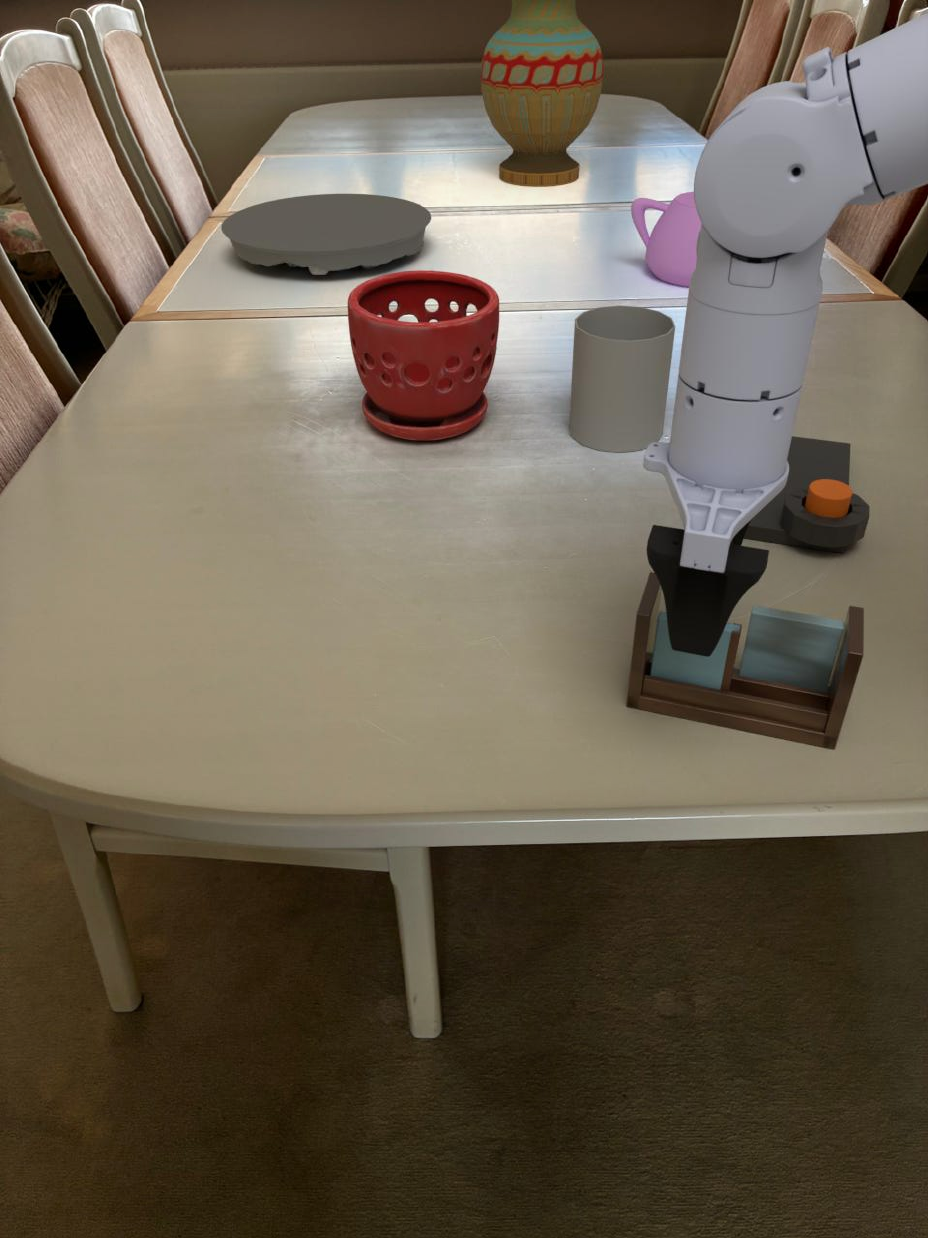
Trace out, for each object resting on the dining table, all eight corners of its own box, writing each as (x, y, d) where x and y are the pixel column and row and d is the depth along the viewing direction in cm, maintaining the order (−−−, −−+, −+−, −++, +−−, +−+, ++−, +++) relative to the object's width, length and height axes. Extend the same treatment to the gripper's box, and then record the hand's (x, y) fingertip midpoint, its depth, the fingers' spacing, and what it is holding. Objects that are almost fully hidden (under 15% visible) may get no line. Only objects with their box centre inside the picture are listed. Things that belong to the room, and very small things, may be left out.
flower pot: (331, 438, 87) (317, 307, 79) (398, 383, 96) (390, 261, 89) (463, 465, 82) (460, 328, 75) (519, 404, 92) (522, 278, 84)
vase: (619, 173, 165) (635, -37, 147) (549, 197, 153) (556, -29, 135) (529, 158, 176) (534, -40, 157) (457, 179, 164) (453, -33, 146)
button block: (728, 440, 85) (734, 409, 83) (861, 457, 82) (870, 425, 80) (702, 542, 72) (708, 507, 70) (859, 566, 69) (869, 531, 67)
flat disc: (423, 220, 143) (422, 189, 141) (442, 280, 121) (441, 244, 119) (234, 230, 141) (229, 198, 138) (218, 293, 119) (212, 256, 116)
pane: (728, 690, 57) (749, 588, 52) (727, 701, 56) (747, 599, 51) (651, 675, 58) (664, 574, 53) (648, 685, 57) (661, 584, 53)
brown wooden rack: (837, 700, 58) (864, 607, 54) (835, 750, 54) (863, 655, 50) (639, 662, 61) (650, 571, 57) (625, 706, 58) (636, 613, 53)
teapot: (787, 296, 114) (805, 202, 108) (619, 286, 118) (627, 194, 112) (786, 261, 125) (802, 173, 118) (632, 253, 129) (639, 167, 123)
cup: (667, 452, 83) (681, 340, 77) (573, 452, 84) (579, 341, 78) (654, 410, 90) (666, 304, 84) (566, 411, 90) (572, 305, 84)
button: (805, 496, 72) (810, 476, 71) (847, 502, 71) (853, 481, 70) (803, 516, 70) (808, 495, 69) (846, 523, 69) (852, 501, 68)
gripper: (678, 315, 52) (652, 530, 60) (626, 431, 41) (603, 674, 49) (814, 329, 50) (768, 548, 58) (798, 454, 39) (744, 703, 47)
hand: (701, 608), depth 53 cm, fingers open, 7 cm apart
